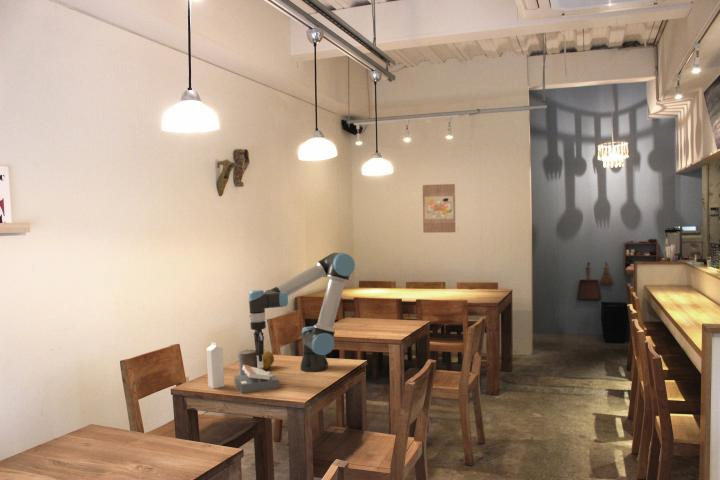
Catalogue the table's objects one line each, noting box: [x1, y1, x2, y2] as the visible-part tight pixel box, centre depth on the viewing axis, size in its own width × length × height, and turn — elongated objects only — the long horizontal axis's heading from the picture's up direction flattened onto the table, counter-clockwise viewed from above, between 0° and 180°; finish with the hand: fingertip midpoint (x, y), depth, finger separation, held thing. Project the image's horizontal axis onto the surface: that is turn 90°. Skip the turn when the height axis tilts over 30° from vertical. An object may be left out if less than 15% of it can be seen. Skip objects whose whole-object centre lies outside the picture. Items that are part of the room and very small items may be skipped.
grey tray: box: [233, 371, 280, 394], centre depth 295 cm, size 18×19×5 cm
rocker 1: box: [242, 365, 265, 371], centre depth 301 cm, size 10×5×2 cm, turn 112°
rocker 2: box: [244, 368, 268, 375], centre depth 295 cm, size 10×5×2 cm, turn 112°
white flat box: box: [247, 371, 270, 380], centre depth 289 cm, size 10×5×2 cm, turn 112°
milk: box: [205, 341, 225, 389], centre depth 298 cm, size 6×6×22 cm
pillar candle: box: [237, 349, 258, 376], centre depth 313 cm, size 10×10×15 cm
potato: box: [260, 349, 275, 371], centre depth 331 cm, size 10×12×10 cm
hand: (260, 367), depth 302 cm, fingers closed
